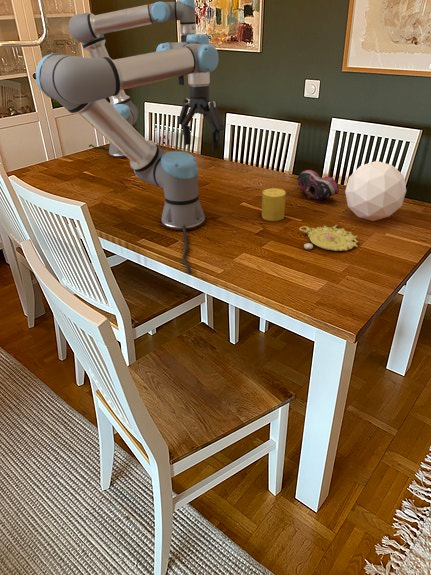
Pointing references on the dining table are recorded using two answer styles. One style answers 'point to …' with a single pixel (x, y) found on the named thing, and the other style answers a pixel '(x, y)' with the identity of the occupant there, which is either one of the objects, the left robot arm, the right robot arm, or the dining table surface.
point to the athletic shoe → (317, 185)
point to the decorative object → (330, 238)
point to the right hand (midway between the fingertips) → (201, 147)
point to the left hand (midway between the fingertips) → (190, 83)
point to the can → (273, 204)
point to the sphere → (375, 190)
